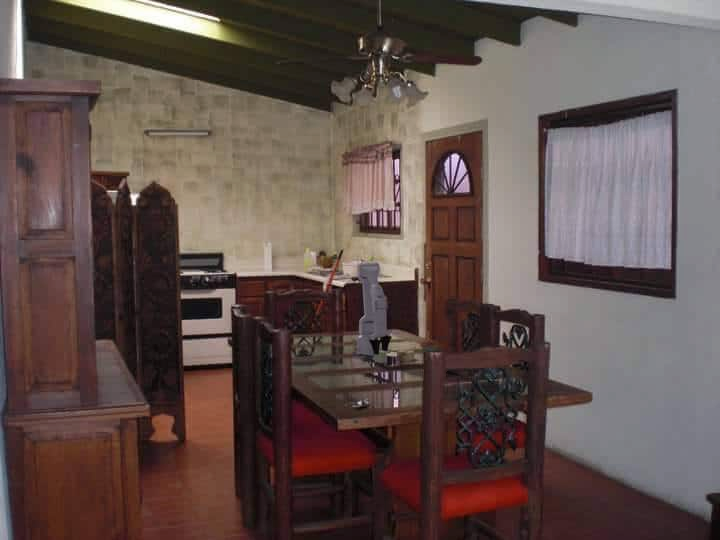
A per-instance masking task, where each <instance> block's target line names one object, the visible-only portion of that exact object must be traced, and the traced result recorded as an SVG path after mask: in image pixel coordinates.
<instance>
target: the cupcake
mask: <svg viewBox="0 0 720 540" xmlns="http://www.w3.org/2000/svg"><path fill="white" fill-rule="evenodd" d="M438 346H439V344H438V342H437V341H436V340H433V339H430V332H429V331H427V339H424V340H422V341H421V342H420V343H419V347H420V348H421V349H422V352H423V351H424V350H429V351H435V352H436V349H438Z"/></svg>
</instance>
